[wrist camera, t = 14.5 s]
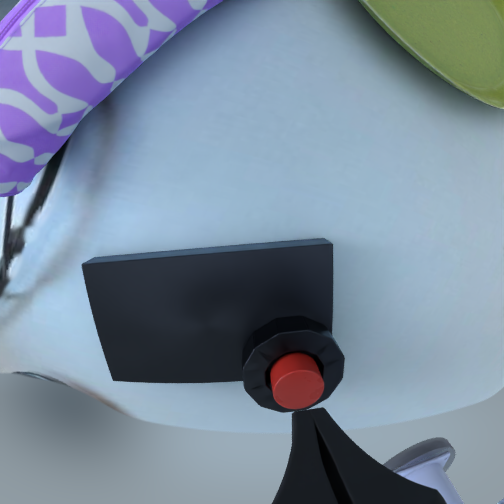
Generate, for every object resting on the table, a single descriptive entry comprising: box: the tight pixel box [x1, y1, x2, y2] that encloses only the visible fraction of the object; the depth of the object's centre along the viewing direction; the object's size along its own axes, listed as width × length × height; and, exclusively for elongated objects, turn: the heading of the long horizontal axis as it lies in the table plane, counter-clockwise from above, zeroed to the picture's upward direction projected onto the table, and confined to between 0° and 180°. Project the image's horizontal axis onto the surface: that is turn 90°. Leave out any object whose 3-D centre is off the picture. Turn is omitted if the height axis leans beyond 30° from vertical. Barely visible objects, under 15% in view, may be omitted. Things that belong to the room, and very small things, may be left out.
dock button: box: [270, 353, 324, 409], centre depth 14 cm, size 3×3×2 cm
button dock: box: [82, 238, 345, 413], centre depth 16 cm, size 14×9×4 cm, turn 94°
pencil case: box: [0, 0, 223, 197], centre depth 9 cm, size 22×9×10 cm, turn 135°
